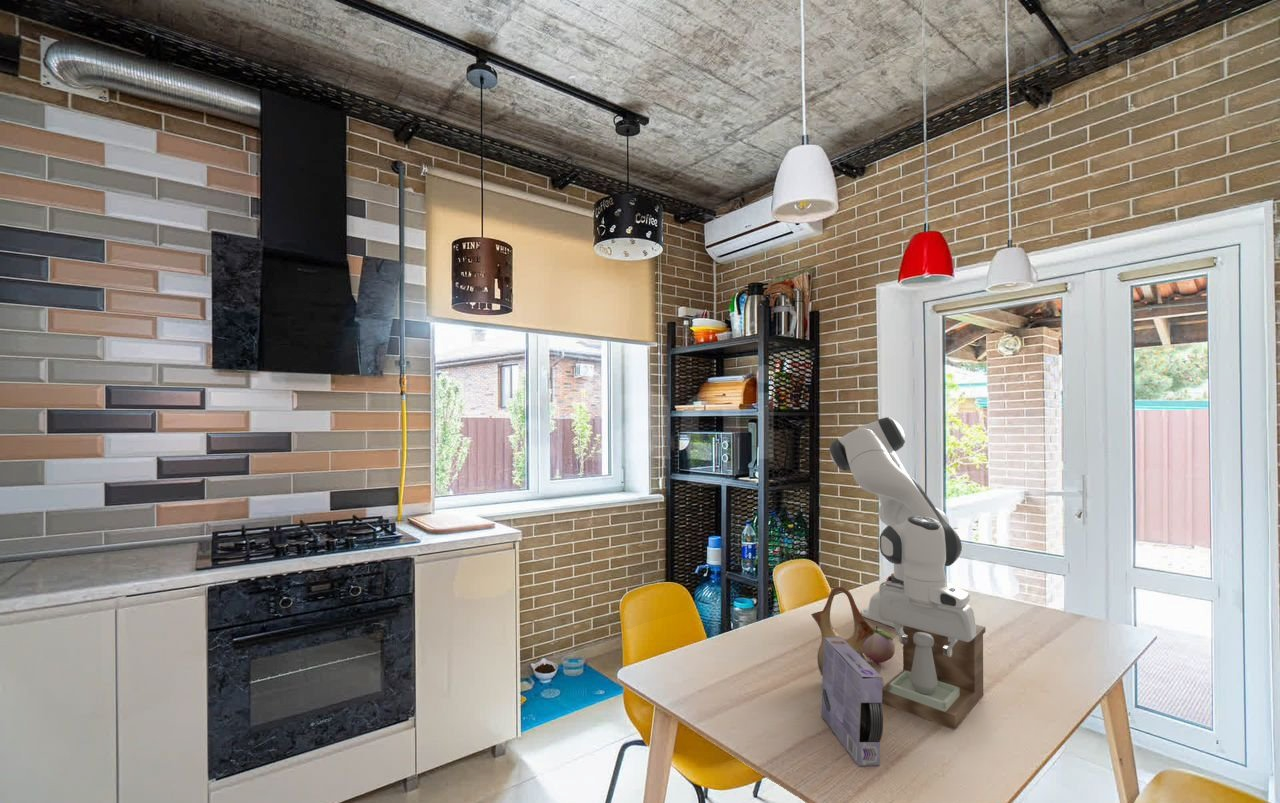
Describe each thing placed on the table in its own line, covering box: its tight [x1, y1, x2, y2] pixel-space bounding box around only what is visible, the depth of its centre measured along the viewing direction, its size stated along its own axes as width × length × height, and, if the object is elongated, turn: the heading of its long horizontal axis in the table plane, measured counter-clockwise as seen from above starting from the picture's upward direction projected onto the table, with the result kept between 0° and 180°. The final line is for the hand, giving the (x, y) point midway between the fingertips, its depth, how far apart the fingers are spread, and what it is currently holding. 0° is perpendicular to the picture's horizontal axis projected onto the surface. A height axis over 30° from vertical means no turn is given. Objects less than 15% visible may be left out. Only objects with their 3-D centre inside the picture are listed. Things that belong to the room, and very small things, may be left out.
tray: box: [889, 670, 960, 712], centre depth 130 cm, size 12×10×2 cm
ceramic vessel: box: [811, 586, 875, 678], centre depth 138 cm, size 16×9×25 cm, turn 40°
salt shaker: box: [910, 632, 938, 695], centre depth 130 cm, size 6×6×13 cm
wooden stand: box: [881, 624, 986, 730], centre depth 134 cm, size 17×22×16 cm
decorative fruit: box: [862, 625, 896, 664], centre depth 152 cm, size 9×8×10 cm
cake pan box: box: [820, 638, 884, 767], centre depth 116 cm, size 19×5×18 cm, turn 5°
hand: (925, 649), depth 130 cm, fingers open, 8 cm apart
